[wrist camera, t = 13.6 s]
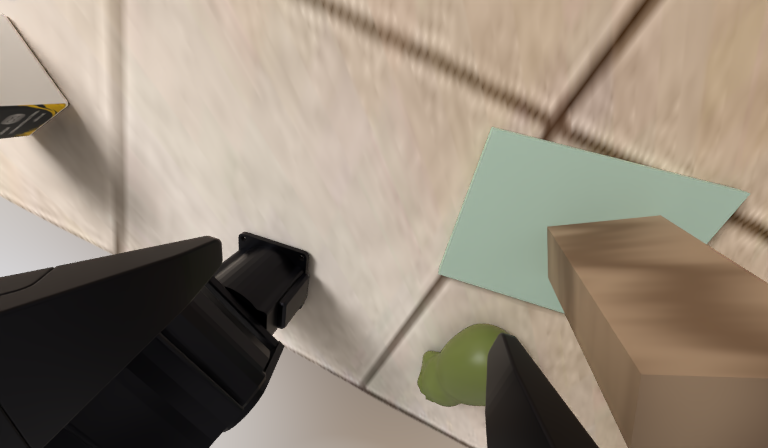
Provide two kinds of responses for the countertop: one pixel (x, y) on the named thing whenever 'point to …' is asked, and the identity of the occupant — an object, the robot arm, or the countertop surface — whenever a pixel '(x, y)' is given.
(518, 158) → the mat
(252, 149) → the countertop surface
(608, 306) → the block
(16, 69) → the medicine bottle
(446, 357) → the pear
